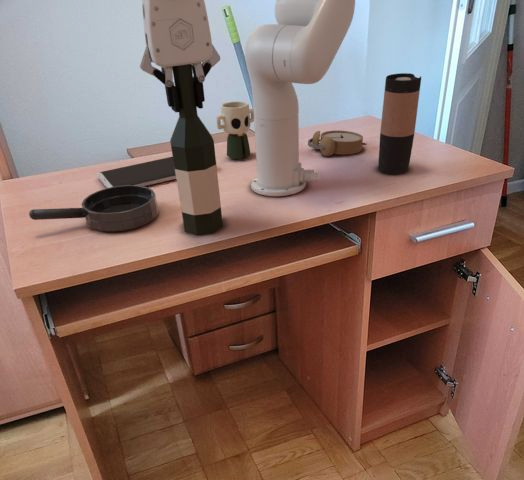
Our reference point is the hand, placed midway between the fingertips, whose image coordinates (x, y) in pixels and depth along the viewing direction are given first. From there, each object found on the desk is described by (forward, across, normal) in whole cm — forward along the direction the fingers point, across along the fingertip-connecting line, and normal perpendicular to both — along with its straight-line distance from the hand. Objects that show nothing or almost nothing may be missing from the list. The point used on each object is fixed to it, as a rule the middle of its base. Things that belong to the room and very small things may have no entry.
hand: (187, 107), depth 87 cm
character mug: (+22, +22, +36) cm, 47 cm away
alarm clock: (+22, +46, +27) cm, 58 cm away
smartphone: (+22, -1, +34) cm, 41 cm away
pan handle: (+20, -26, +13) cm, 36 cm away
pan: (+22, -14, +13) cm, 29 cm away
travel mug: (+22, +50, +7) cm, 56 cm away
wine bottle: (+22, 0, 0) cm, 22 cm away
